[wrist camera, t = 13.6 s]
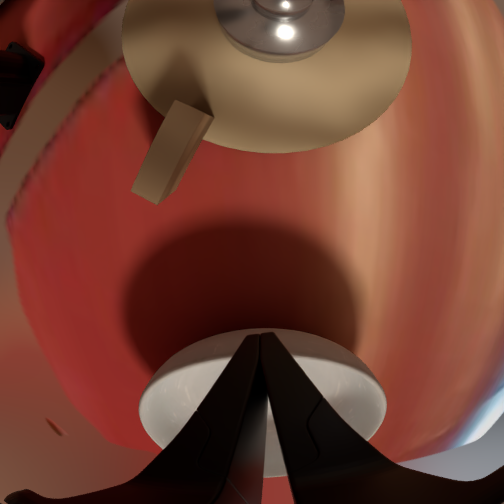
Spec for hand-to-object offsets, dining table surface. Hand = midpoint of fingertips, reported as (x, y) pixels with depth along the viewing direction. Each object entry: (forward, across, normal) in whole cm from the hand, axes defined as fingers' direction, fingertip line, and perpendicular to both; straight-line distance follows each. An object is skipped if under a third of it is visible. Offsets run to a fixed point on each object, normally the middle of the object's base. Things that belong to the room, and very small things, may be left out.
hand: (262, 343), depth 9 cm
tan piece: (+12, -3, -14) cm, 19 cm away
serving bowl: (+12, +2, +16) cm, 20 cm away
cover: (+10, -4, -14) cm, 18 cm away
